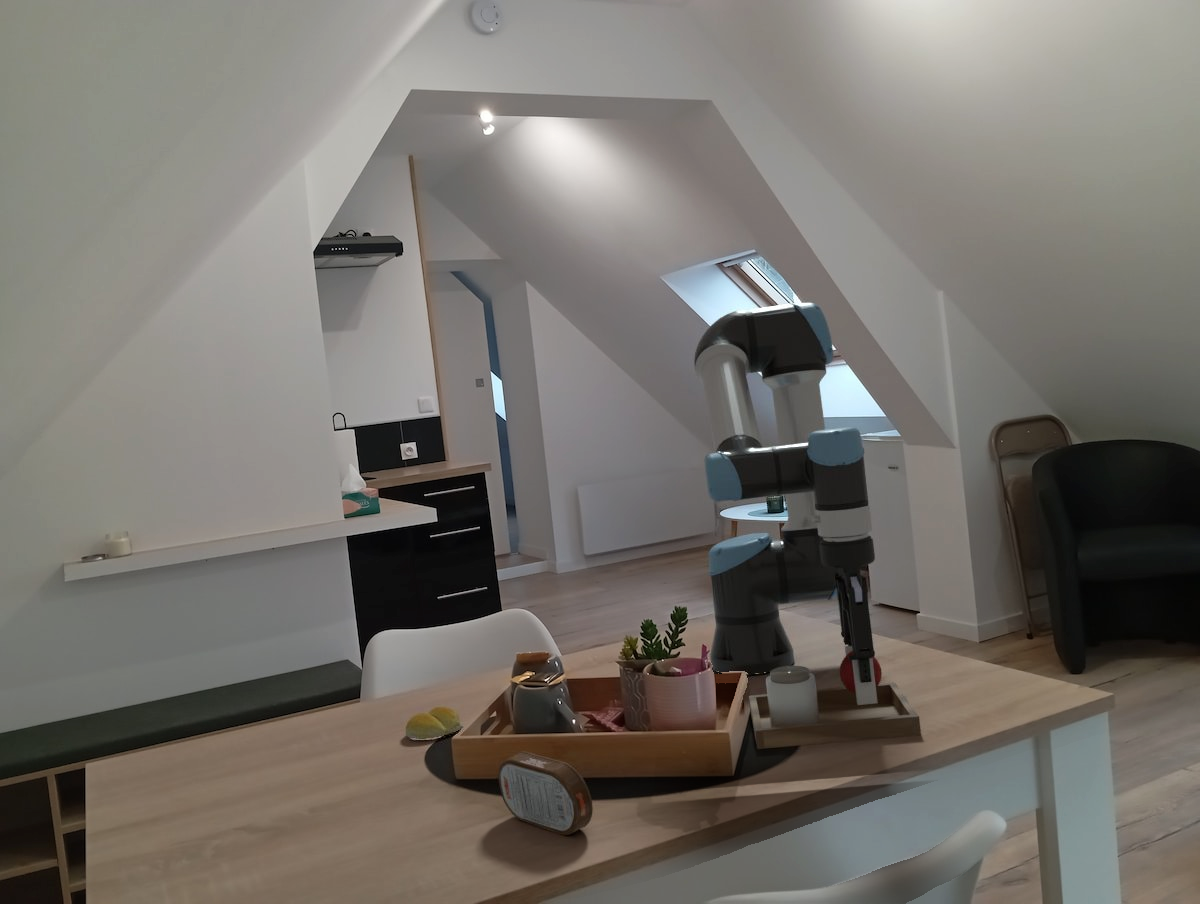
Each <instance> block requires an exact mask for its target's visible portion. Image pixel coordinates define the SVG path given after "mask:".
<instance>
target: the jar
mask: <svg viewBox="0 0 1200 904" xmlns="http://www.w3.org/2000/svg"><path fill="white" fill-rule="evenodd" d="M815 676H816V675H815V674H813V673H812V672H810V669H809V668H808V667H806V666H803V665H790V666H783V667H779V668H775V669H773V670H771V671H770V673H769V675H768V676H766V678H765V686H766V687H765V688H766V694H767V696H768V705H769V713H770V722H771V727H778V726H789V725H800V724H811V723H820V718H819V709H818V701H817V692H816V690H817V685H816V684H817V683H816V677H815Z"/></svg>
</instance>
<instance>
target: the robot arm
mask: <svg viewBox="0 0 1200 904" xmlns="http://www.w3.org/2000/svg"><path fill="white" fill-rule="evenodd" d="M708 327H709V328H707V329H706V331H705V332H704V333H703V335H702V336H701V338H700V340H699V341H698V344H697V346H696V349H695V353H694V359H693V363H694V371H695V375H696V377H697V380H698V381H699V382H700V383H701V384H702V385H703V389H704V396H705V403H706V406H707V407H706V409H707V415H708V420H709V421H708V422H709V426H710V433H711V439H712V443H713V444H712V445H713V451H714V453H713V452H712V453H709V454H707V455H705V457H704V470H705V477H706V478H705V479H706V484H707V485H706V486H707V492H708V496H709V498H710V499H711V500H712V501H714V502H722V501H723V502H724V501H725V502H726V501H728V502H729V501H733V502H738V501H743V500H750V499H757V498H765V497H773V496H779V495H785V502H786V503H785V505H786V510H787V520H786V522H784V525H782V527H781V529H780V530H781V538H779V539H773V540H772V537H771V535H770V533H768V532H757V533H756V532H755V533H749V534H744V535H740V536H735V537H732V538H729V539H726V540H723V541H720V542H718V543H716V544H714V545H713V546H712V547H711V549H710V550H709V553H708V567H709V569H708V575H709V576H710V581H711V593H712V600H713V601H712V603H713V610H714V612H713V613H714V618H715V629H714V634H713V638H712V639H713V640H712V644H711V649H710V653H709V660H710V664H711V663H712V665H713V670H712V671H714V672H715V671H719V672H729V671H745V672H747V673H748V674H749V675H748V676H751V675H750V674H755V673H764V672H770V671H771V670H773V669H775V668H779V667H783V666H793V664H794V663H795V653H794V648H793V646H792V643H791V642H790V638H789V636H788V635H787V632H786V631H785V628H784V626H783V623H782V622H781V617H780V610H779V605H786V604H797V603H806V602H815V601H823V600H824V601H825V600H827V601H832V600H834V599H837V602H838V610H839V619H840V620H839V621H840V627H841V631H840V635H841V637H842V638H843V643H844V650H845V656H846V655H847V654H848V653H850V652H851V651H852V650H853V655H852V656H848V659H849V660H852V663H853V672H854V681H855V690H856V699H857V704H858V705H864V704H875V703H877V694H876V685H875V676H874V667H873V658H872V657H875V654H876V652H875V649H874V641H873V639H874V638H873V633H872V624H871V618H870V617H871V616H870V609H869V595H868V593H869V589H868V584H867V579H866V577H865V576H864V575H863V573H862V572H861V567H862V566H867V565H871V564H872V563H874V562H875V560H876V556H875V555H876V554H875V548H874V547H875V546H874V538H873V537H872V536H871V535H869V534H870V533H871V532H872V531H873V526H872V525H873V524H872V517H871V516H872V515H871V505H870V502H869V495H868V489H867V488H868V486H867V485H868V484H867V477H866V467H865V458H864V454H865V448H864V447H863V442H862V435H861V432H860V430H859V429H858V428H857V427H851V426H849V427H836V428H829V429H828V428H827V429H826V428H825V427H826V426H825V419H824V411H823V410H824V409H823V402H822V395H821V387H820V383H821V381H822V380H823V378H824V377H825V376H826V375H827V367H826V366H827V365H830V364H831V363H832V362H833V361H834V349H833V339H832V337H831V332H830V328H829V325H828V322H827V320H826V317H825V314H824V312H823V310H822V309H821V307H820V306H819V305H818V304H816V303H814V302H791V303H785V304H779V305H778V304H777V305H773V306H766V307H764V306H763V307H759V308H758V307H757V308H751V309H744V310H743V309H740V310H736V311H732V312H728V313H726V314H725V315H723V316H722V317H721V316H720V318H718V319H716V320H715V321H714V322H713V323H712V324H711V325H710V326H708ZM755 373H761V377H762V378H761V379H762V383H763V384H764V385H766V386H767V387H768V388H770V390H771V393H772V397H773V398H772V399H773V407H774V415H775V422H776V431H777V439H778V440H777V441H778V445H772V446H771V445H770V446H763V444H762V439H761V435H760V432H759V426H758V421H757V418H756V413H755V409H754V404H753V400H752V396H751V391H750V387H749V383H748V378H747V375H748V374H755Z"/></svg>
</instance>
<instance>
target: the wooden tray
mask: <svg viewBox="0 0 1200 904" xmlns="http://www.w3.org/2000/svg"><path fill="white" fill-rule="evenodd" d="M816 692H817V701H818V709H819V718H820V723H811V724H800V725H789V726H778V727H771V722H770V713H769V705H768V696H767V693H766V694H765V693H764V694H755V695H748V699H749V709H750V716H751V720H752V721H751V722H752V727H753V731H754V732H753V733H754V738H755V743H756V748H757V749H756V750H764V749H776V748H777V749H778V748H787V747H797V746H808V745H809V746H810V745H822V744H823V745H824V744H831V743H843V742H844V743H846V742H855V741H866V740H878V739H879V740H880V739H888V738H889V739H890V738H900V737H912V736H914V737H915V736H921V735H922V731H921V721H920V720H921V719H920V716H919V714H918V712H917V711H916V710H915V708H914V707H913V706H912V704H911V703H910V701H909V700H908V699H907V697H906V696H905V695H904V692H903V691H902V690H901V688H900V687H899V686H898V685H897V683H896V682H895V681H893V682H884V683H883V682H882V683H879V685H878V687H877V688H876V694H877V703H875V704H864V705H858V704H857V699H856V695H855V694H853V693H851V692H850V691H849V690H848V689H847V688H846V687H845V686H843V687H841V686H840V687H830V688H829V687H827V688H820V689H817V688H816Z"/></svg>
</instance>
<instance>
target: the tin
mask: <svg viewBox="0 0 1200 904" xmlns="http://www.w3.org/2000/svg"><path fill="white" fill-rule="evenodd" d="M497 776H498V777H497V778H498V784H499V789H500V792H501V797H502V801H503V802H504V804H505V806H506V807H507V809H508V810H509V812H510V813H511V814H512V815H514V817H515V818H516V819H518V820H519V819H520V821H521V820H522V821H521V822H524V821H525V822H524V823H526V822H527V824H529V823H530V825H532V824H533V825H532V826H536V827H539V828H540V829H543V828H544V830H546V829H547V831H549V830H550V832H552V833H555V834H558V835H560V836H561V835H562V836H569V835H572V834H573V833H575V832H577V831H579V830H580V829H583V828H585V827H587V826H588V825H589V824H590V823H591V822H590V821H591V820H592V817H593V812H594V811H593V810H594V809H593V808H594V807H593V799H592V796H591V793H590V789H589V787H588V785H587V783H586V781H585V780H584V778H583V777H582V775H581V774H580V773H579V772H578V771H577V770H576V769H575V767H573V766H572V765H571V764H569V763H567V762H564V761H561V760H556V759H553V758H550V757H546V756H543V755H538V754H535V753H532V752H530V751H529V752H528V751H525V750H524V751H518V752H516V753H515V754H514V755H512V756H510V757H508V758H507V759H505V760H504V761H503V762H502V763H501V764H500V766H499V768H498V772H497Z"/></svg>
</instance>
